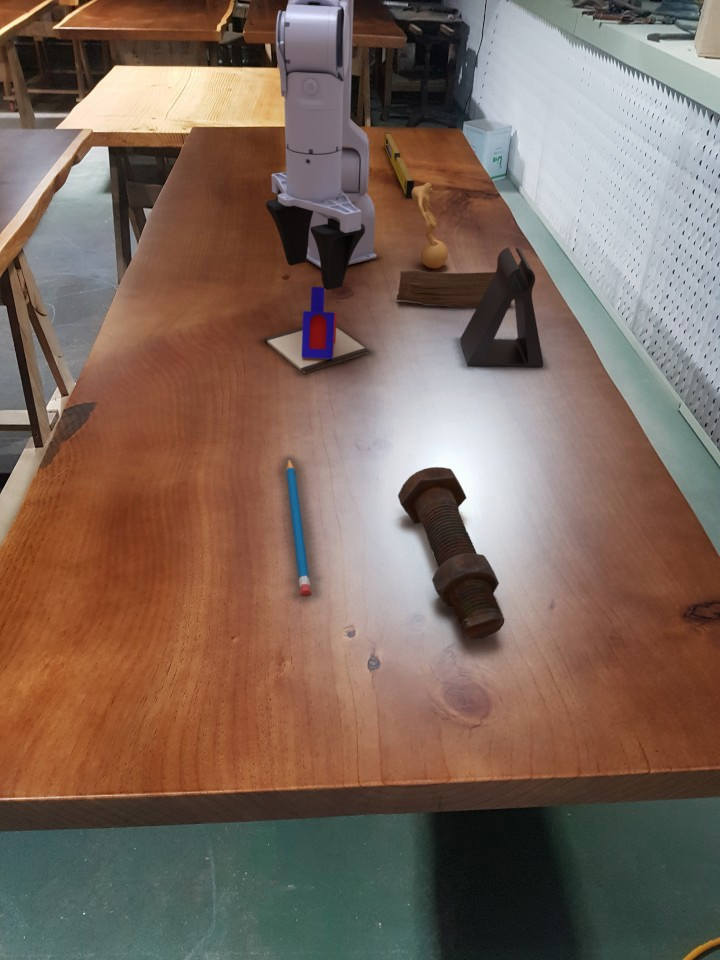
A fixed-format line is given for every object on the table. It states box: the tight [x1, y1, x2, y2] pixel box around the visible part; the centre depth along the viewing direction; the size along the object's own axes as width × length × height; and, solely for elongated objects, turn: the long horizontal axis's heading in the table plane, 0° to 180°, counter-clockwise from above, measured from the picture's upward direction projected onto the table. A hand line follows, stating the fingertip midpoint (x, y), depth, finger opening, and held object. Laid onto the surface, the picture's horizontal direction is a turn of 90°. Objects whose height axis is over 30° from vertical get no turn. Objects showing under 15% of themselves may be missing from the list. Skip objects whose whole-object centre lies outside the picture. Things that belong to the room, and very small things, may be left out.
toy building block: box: [302, 286, 338, 359], centre depth 83 cm, size 4×4×8 cm
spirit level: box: [383, 132, 415, 199], centre depth 142 cm, size 33×1×3 cm, turn 5°
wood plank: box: [396, 270, 512, 308], centre depth 94 cm, size 15×2×5 cm, turn 93°
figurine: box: [411, 181, 449, 269], centre depth 102 cm, size 8×6×12 cm
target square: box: [264, 326, 369, 374], centre depth 85 cm, size 9×9×1 cm
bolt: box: [397, 466, 506, 640], centre depth 56 cm, size 6×5×15 cm
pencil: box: [286, 459, 312, 596], centre depth 62 cm, size 1×17×1 cm, turn 8°
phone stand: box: [459, 246, 544, 368], centre depth 82 cm, size 9×6×12 cm, turn 92°
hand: (314, 274), depth 81 cm, fingers open, 7 cm apart
